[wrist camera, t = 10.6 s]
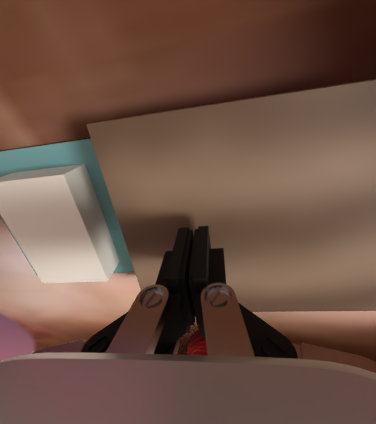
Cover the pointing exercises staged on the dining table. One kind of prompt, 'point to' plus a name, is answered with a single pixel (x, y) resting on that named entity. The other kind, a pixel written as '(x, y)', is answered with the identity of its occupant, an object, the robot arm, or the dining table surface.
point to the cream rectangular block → (59, 224)
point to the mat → (68, 156)
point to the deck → (256, 192)
